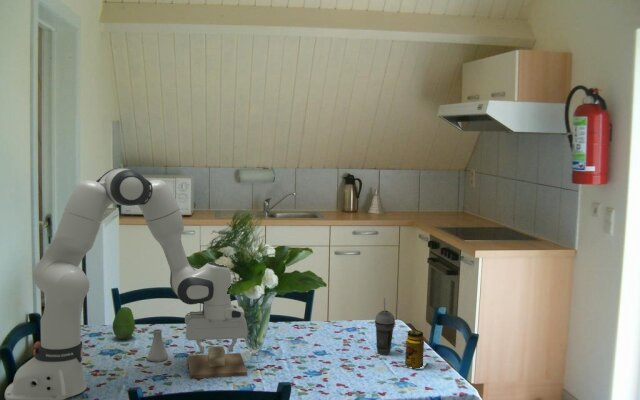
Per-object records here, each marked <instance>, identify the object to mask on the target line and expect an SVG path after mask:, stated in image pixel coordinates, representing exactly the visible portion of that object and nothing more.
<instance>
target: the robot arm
mask: <svg viewBox="0 0 640 400" xmlns="http://www.w3.org/2000/svg"><path fill="white" fill-rule="evenodd" d="M112 204H115V205H119V206H128V207H130V206H133V207H134V206H138V208H140V210H141V212H142V214H143V217H144V218H143V219H144V220H145V223H146V226H147V228H148V230H149V231H150V234H152V236H153V237H154V239H155V240H156V242H157V243H158V244H159V245H160V247H161V248H162V250H163V253H164V256H165V258H166V260H167V261H166V262H167V264H168V266H169V269H170V270H169V271H170V277H169V284H170V288H171V290H172V292H173V293H174V294H175V295H176V296H177V298H178V299H179V300H180V301H181V302H182V303H184V304H186V305H190V306H191V305H198V304H202V303H203V311H202V310H201V311H190V312H188V313H186V314H185V316H184V324H185V325H186V326H185V338H186V340H187V341H196V345H197V346H198V348H199V353H200V354H203V353H205V346H203V345H201V343H202V341H209V340H212V341H213V340H231V341H232V342H231V343H230V344H229V345H228V348H227V351H228V352H234V347H235V345H236V344H237V341H238V340H237V339H246V338H247V337H248V334H249V333H248V332H249V329H248V324H247V320H246V318H245V310H244V309H243V307H242V306H238V305H237V304H232V301H231V300H232V299H231V293H230V294H227V291H228V288H229V287H230V286H231V287H232V274H231V273H232V272H231V269H230V267H229V266H228V265H227V266H228V267H227V266H224V265H219V264H216V263H215V262H216V261H208V262H207V263H205V264H204V265H203V266H202V267H200V268H198V269H195V268H194V267H193V266H192V265H191V264H190V262H189V260H188V258H187V257H188V256H187V255H186V252H185V249H184V246H183V242H182V235H183V233H184V229H185V226H184V219H183V216H182V212H181V210H180V207H179V205H178V202H177V200H176V197H175V196H174V194H173V192H172V190H171V188H170V187H169V185H168V184H167V183H166V181H164V180H162V179H149V180H148V179H147V178H145V177H144V176H143V175H142V174H141V173H139V172H138V171H135V170H133V169H130V168H126V167H125V168H124V167H123V168H122V167H120V168H118V167H117V168H112V169H110V170H108V171H106V172H104V174H103V175H102V176H101V177H99V178H98V179H97V180H90V179H87V180H82V181H79V182H78V183H77V184H76V185H75V187H74V189H73V191H72V192H71V194H70V196H69V198H68V200H67V202H66V204H65V207H64V210H63V212H62V215H61V218H60V220H59V224H58V226H57V229H56V232H55V234H54V236H53V238H52V240H51V241H50V243H49V246H48V247H47V249H46V250H45V252H44V254H43V256H42V257H41V259H40V260H38V262H37V263H36V264H35V265H34V267H33V270H32V278H33V281H34V284H35V285H36V288H38V289H39V290H40V291H41V292H43V293H44V295H45V305H44V309H43V314H42V316H41V317H40V340H39V341H36V342H35V343H34V345H33V357H32V358H31V359H30V360H28V361H27V362H25V363H24V364H22V365H21V366H20V367H19V368H18V369H17V370H16V373H15V374H14V377H13V382H11V383H9V385H8V386H7V387H6V389H5V391H4V399H5V400H66V399H67V398H71V397H75V396H76V395H80V394H82V393H83V392H84V391H85V390H86V389H87V387H88V385H87V382H86V379H85V376H84V371H83V369H84V368H83V362H82V361H83V359H84V358H83V356H84V353H83V351H84V348H83V347H84V346H83V341H82V340H81V336H82V335H81V334H82V333H81V332H82V331H81V330H82V329H81V327H82V326H81V322H82V321H81V319H82V317H81V316H82V311H83V307H84V301H85V297H86V296H87V295H88V293H89V290H90V280H89V279H88V276H87V274H86V273H85V272H84V271H83V269H82V268H80V267H79V265H80V264H81V262H82V261H83V259H84V258H85V256H86V254H87V253H88V252H89V251H90V250H92V248H93V246H94V244H95V242H96V238H97V235H98V232H99V230H100V227H101V224H102V221H103V219H104V216H105V213H106V211H107V209H108V208H109V206H111V205H112Z"/></svg>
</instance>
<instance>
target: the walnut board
mask: <svg viewBox="0 0 640 400" xmlns="http://www.w3.org/2000/svg"><path fill="white" fill-rule="evenodd" d="M187 365H188V371H189V378H190V379H191V380H193V379H205V378H206V379H208V378H209V379H210V378H226V377H245V376H248V370H247V367H246V365H245V362H244V360H243V357H242V353H241V352H235V353H225V366H211V367H209V363H208V354H195V355H193V354H192V355H187Z"/></svg>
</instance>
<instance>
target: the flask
mask: <svg viewBox="0 0 640 400" xmlns="http://www.w3.org/2000/svg"><path fill="white" fill-rule="evenodd" d="M152 333H153V337H152V343H151V345H150V348H149V349H150V350H149V352H148V355H147V358H146V361H150V362H164V361H165V360H168V358H169V354H168V352H167V350H166V347H165V344H164V342H163V336H162V333H163V329H162V328H155V329H152Z"/></svg>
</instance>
